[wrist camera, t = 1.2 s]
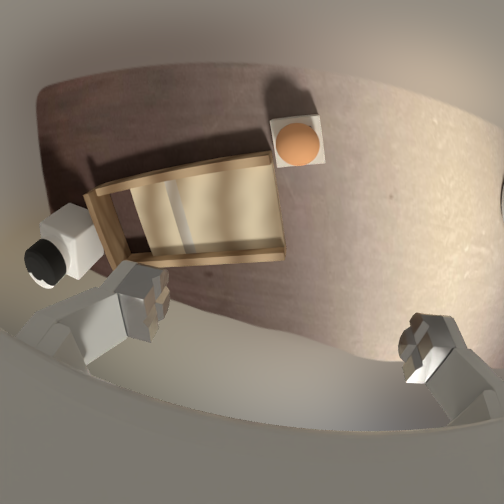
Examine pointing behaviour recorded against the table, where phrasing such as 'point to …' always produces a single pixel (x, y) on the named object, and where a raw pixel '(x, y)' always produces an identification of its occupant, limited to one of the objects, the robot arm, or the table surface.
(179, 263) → the lane
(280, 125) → the square ring
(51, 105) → the table surface
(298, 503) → the robot arm
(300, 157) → the ball
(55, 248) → the medicine bottle
